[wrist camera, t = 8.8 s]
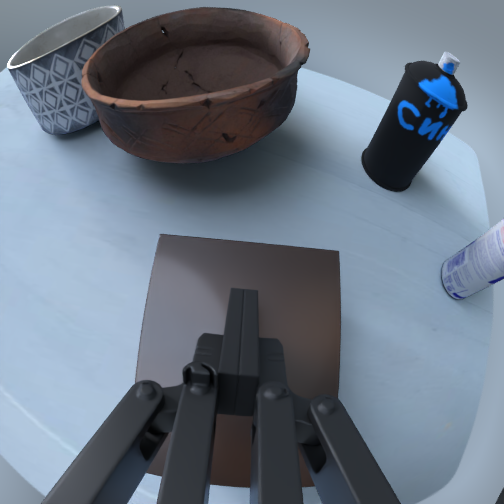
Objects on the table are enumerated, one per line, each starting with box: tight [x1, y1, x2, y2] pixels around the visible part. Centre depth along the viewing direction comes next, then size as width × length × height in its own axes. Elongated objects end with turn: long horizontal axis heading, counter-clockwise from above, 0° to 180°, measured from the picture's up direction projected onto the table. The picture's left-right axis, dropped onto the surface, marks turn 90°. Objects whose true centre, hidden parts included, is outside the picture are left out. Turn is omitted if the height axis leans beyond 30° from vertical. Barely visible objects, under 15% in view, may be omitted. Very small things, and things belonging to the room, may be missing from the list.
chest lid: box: [135, 234, 341, 488], centre depth 16 cm, size 16×13×1 cm
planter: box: [7, 5, 125, 135], centre depth 31 cm, size 19×19×16 cm
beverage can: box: [442, 219, 504, 300], centre depth 23 cm, size 6×6×15 cm
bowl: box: [81, 7, 310, 164], centre depth 29 cm, size 25×25×15 cm
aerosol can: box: [362, 52, 467, 191], centre depth 27 cm, size 8×8×20 cm
